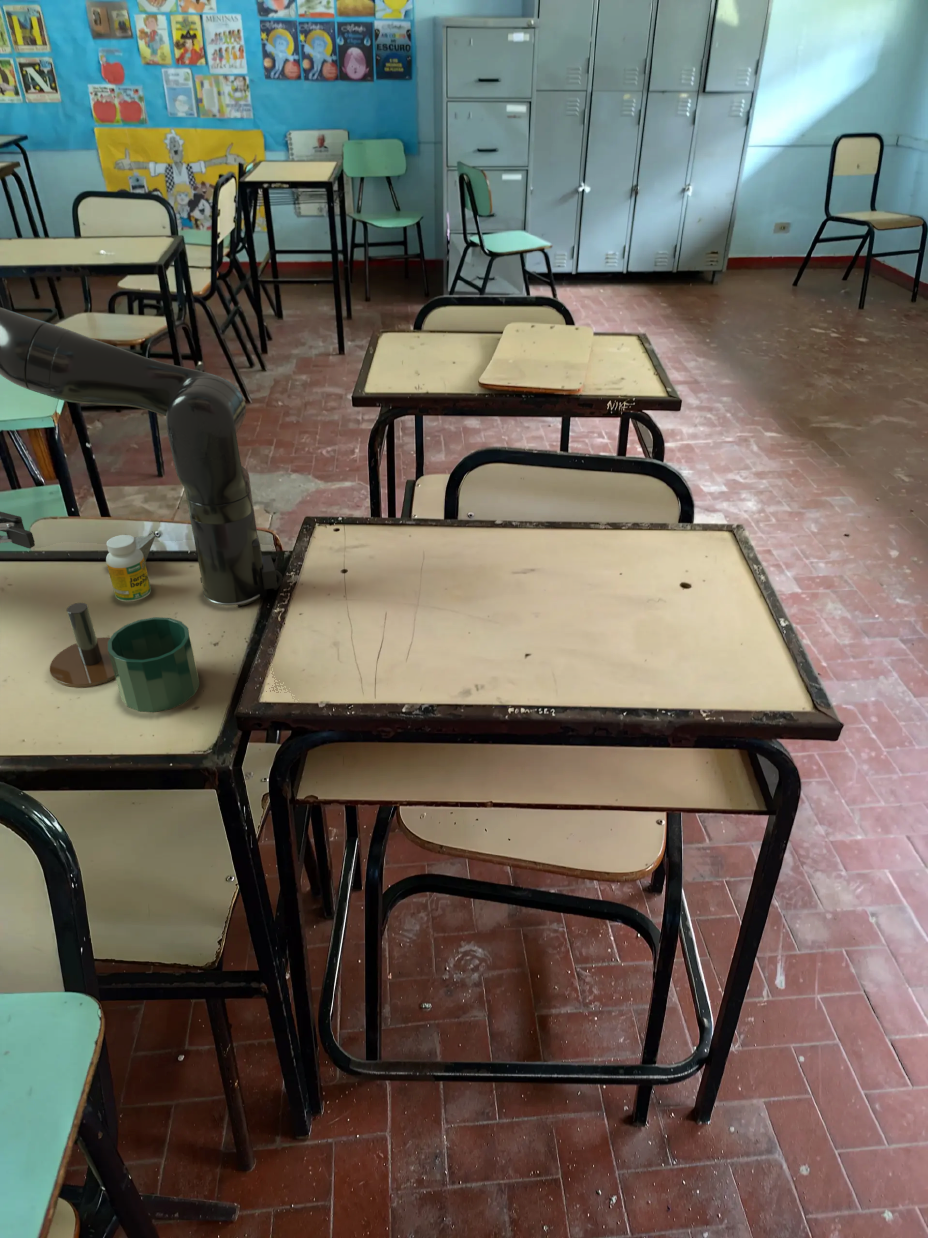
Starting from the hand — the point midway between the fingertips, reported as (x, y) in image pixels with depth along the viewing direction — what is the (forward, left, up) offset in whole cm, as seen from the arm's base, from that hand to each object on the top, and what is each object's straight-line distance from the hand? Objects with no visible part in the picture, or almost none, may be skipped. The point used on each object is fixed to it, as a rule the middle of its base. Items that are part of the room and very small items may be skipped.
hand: (4, 554), depth 112 cm
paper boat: (-14, -19, -15) cm, 28 cm away
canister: (-16, +16, -15) cm, 28 cm away
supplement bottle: (-13, -10, -15) cm, 22 cm away
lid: (-8, +8, -14) cm, 18 cm away
